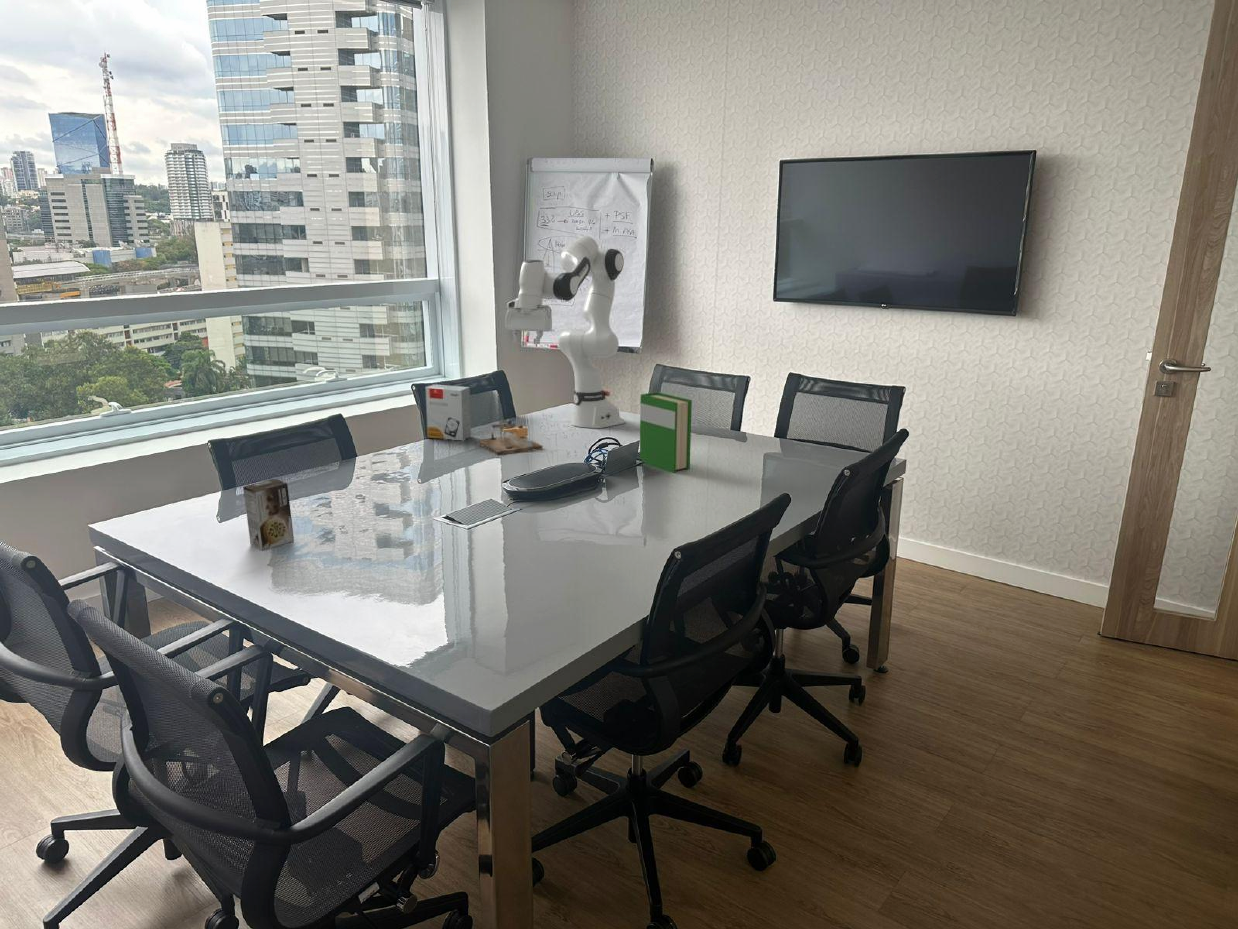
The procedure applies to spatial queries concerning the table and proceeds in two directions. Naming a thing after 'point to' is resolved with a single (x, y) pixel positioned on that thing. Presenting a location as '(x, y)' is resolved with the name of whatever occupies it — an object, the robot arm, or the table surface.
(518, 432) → the sliding head
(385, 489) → the table surface
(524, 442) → the trammel beam
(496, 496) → the table surface
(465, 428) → the hard drive box
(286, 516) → the cookie box
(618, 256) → the robot arm
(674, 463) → the hardback book
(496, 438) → the hole board
